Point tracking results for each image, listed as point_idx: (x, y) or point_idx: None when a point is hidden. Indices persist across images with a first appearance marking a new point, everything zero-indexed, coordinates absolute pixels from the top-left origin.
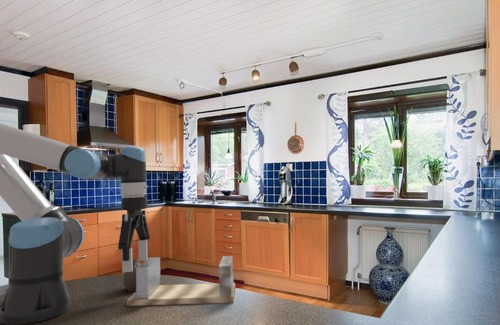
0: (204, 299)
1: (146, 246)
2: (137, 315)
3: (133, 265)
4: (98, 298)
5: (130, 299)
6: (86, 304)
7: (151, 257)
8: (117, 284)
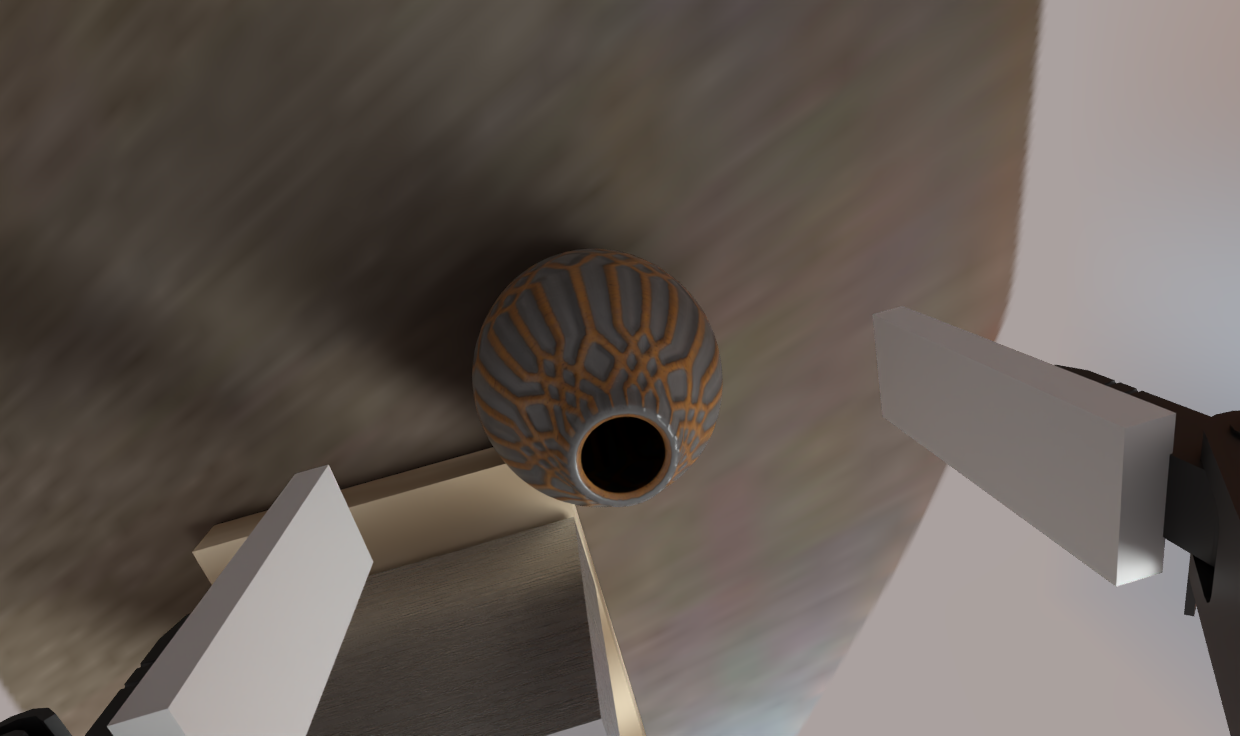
0: None
1: (1019, 514)
2: (98, 685)
3: (545, 467)
4: (269, 161)
5: (213, 568)
6: (90, 159)
7: (602, 733)
8: (696, 61)
